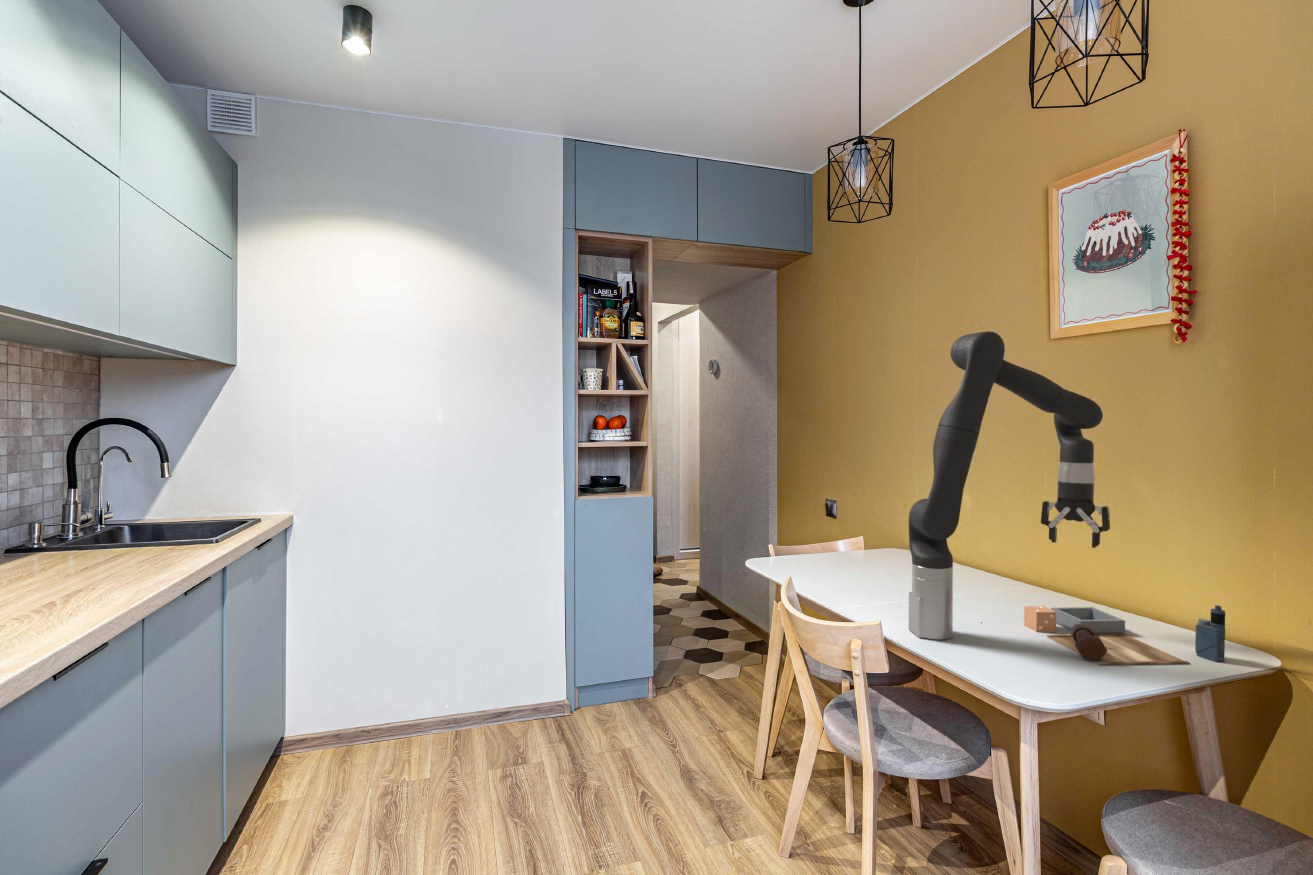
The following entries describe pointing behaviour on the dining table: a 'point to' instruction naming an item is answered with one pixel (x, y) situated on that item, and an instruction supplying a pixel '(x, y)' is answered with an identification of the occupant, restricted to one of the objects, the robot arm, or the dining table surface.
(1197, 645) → the vaping device
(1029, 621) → the die
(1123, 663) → the board
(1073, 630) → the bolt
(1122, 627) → the tray
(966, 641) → the dining table surface
